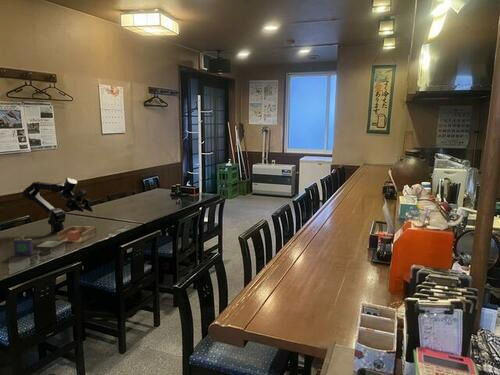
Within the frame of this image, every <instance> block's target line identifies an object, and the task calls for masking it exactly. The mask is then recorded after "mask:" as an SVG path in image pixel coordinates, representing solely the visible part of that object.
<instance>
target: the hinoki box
mask: <svg viewBox="0 0 500 375" xmlns="http://www.w3.org/2000/svg"><path fill="white" fill-rule="evenodd" d="M71 230H78V231H80V239H78V240H77V241H68V239H67V232H69V231H71ZM96 235H97V227H96V226H84V225H81V226H80V225H79V226H78V225H71V226H68V227H66V228H64V230H62V231H60V232H56V237H57V238H56V239H57V241H64V242H75V243H77V242H78V243H84V242H86V241H88V240H89V239H91V238H93V237H94V236H96Z"/></svg>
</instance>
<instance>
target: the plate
mask: <svg viewBox="0 0 500 375" xmlns="http://www.w3.org/2000/svg"><path fill="white" fill-rule="evenodd" d="M64 242H65V241H58V240H46V241H44V242H43V243H41V244H38V245H37V246H36V247H37V248H38V247H39V248H54V247H56V246H58V245H60V244H62V243H64Z"/></svg>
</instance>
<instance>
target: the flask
mask: <svg viewBox="0 0 500 375" xmlns="http://www.w3.org/2000/svg"><path fill="white" fill-rule="evenodd" d="M13 246H14V247H13V249H14V257H31V256H34V248H33V247H34V246H33V239H32V238H25V236H24V235H23V236H20V237H19V238H15V239H13Z"/></svg>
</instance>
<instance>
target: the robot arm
mask: <svg viewBox="0 0 500 375" xmlns="http://www.w3.org/2000/svg"><path fill="white" fill-rule="evenodd" d="M77 184H78V181H77V180H76V179H74V178H70V177H67V178H66V179H65V182H55V183H49V182H41V181H34V182H32V183H31V184H30V185H29V186H28V187H26V188H25V189H24V190H22V197H24V198H25V199H27V200H28V201H31V202H33V203H35V204H36V205H38V206H39V207H40V208H41V209H42V210H44V211H45V212H46V213H47V214H48V216H49V219H48V220H47V223H48V225H50V228H51V229H50V232H49V234H56V233H58V232H60V231H62V230H64V229H65V228H64V224H63V223H65V221H66V217H67V214H66V213H65V211H64V210H63V209H62V208H60V207H57V208H55V207H54V206H53V205H51V204H50V203H49V202H48V201H47V200H45V199H44V198H43V197H42V196H41V195H40V192H41V190H46V191H47V190H48V191H50V192H52V193H54V194H58V193H59V194H58V196H59V199H65V203H64V207H65V208H66V209H69V210H74V211H78V212H82V213H83V212H84V210H85V211H88V212H91V213H92V212H93V211H94V210H93V208H92V206H91V205H90V204H91V200H90V199H89V198H83V197H85V196H86V195H87V190H85V189H79V190H77V191H76V192H75V193H73V191H74V190H75V188H76V186H77Z"/></svg>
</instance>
